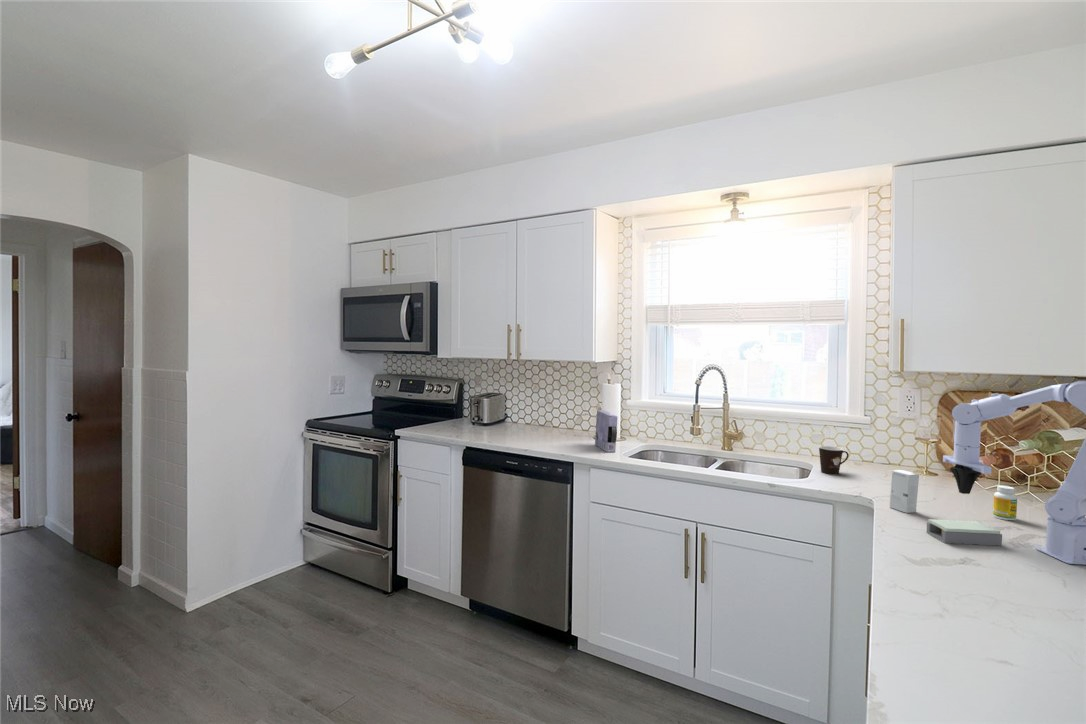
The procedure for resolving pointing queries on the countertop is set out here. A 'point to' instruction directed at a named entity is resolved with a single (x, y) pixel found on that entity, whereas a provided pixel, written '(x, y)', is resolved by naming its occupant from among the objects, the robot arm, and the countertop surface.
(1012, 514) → the supplement bottle
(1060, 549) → the robot arm
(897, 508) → the skincare box
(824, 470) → the coffee mug
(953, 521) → the cover
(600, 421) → the cake pan box
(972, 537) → the grey open tray
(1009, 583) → the countertop surface
